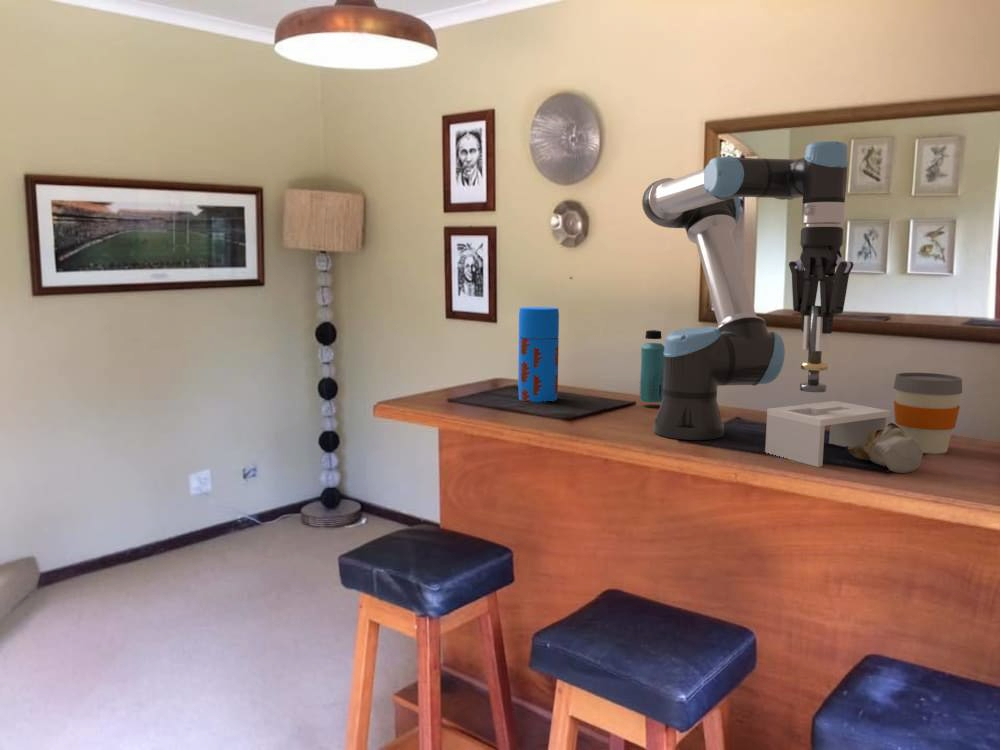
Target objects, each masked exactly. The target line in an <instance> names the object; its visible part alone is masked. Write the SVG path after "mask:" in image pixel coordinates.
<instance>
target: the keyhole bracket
mask: <svg viewBox="0 0 1000 750" xmlns="http://www.w3.org/2000/svg"><path fill="white" fill-rule="evenodd" d="M890 423H891V410H889V409H883V408H877V407H871V406H867V405H866V406H865V405H862V404H861V405H860V404H855V403H849V402H844V401H837V400H831V401H823V402H822V401H820V402H815V403H814V402H813V403H805V404H803V403H802V404H798V405H788V406H786V405H785V406H781V407H780V406H779V407H771V408H770V407H769V408H767V409H766V432H765V446H764V447H765V449H764V453H765V452H766V453H765V454H768V453H769V455H772V454H773V455H772V456H775V455H776V456H775V457H779V456H780V458H783V457H784V458H783V459H786V458H787V460H790V461H794V462H799V463H801V464H806V465H809V466H813V467H817V468H820V467H823V464H824V463H823V461H824V460H823V459H824V446H825V445H824V444H825V430H826V426H829V435H828V436H829V437H828V438H829V439H828V444H831V445H836V446H840V447H844V448H845V446H849V447H856V446H859V445H862V446H865V443H866V442H867V439H868V437H869V435H870V433H871V432H872V431H874V430H875V429H878V428H886V427H887V426H888V424H890Z"/></svg>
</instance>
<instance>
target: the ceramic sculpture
mask: <svg viewBox="0 0 1000 750" xmlns="http://www.w3.org/2000/svg"><path fill="white" fill-rule="evenodd" d="M844 448H845V450H846V451H847V452H848V453H849V454H850V455H851V456H853V457H855V458H857V459H860V460H864V461H865V460H870V461H871V462H873V463H874V464H876V465H878V464H879V465H878V466H881V465H882V466H881V467H885V466H887V467H886V468H887V469H888V470H889V471H891V472H894V473H898V474H908V473H911V472H914V471H915V470H917V469H918V467H920V465H921V463H922V459H923V454H924V453H923V451H922V449H921V446H920V444H919V442H918V441H917V440H916V439H915V438H914V437H909V438H907V436H906V435H905V433H904V431H903V429H902V428H900V427H899V426H898V424H896V423H895V422H890V424H888V426H887V427H886V428H878V429H875V430H874V431H872V432H871V433H870V435H869V437H868V439H867V442H866V443H865V446H862V445H859V446H856V447H849V446H845V447H844Z"/></svg>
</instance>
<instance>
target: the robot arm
mask: <svg viewBox="0 0 1000 750" xmlns="http://www.w3.org/2000/svg"><path fill="white" fill-rule="evenodd" d="M848 167H849V161H848V146H847V144H846V143H844V142H843V141H838V140H837V141H836V140H834V141H832V140H831V141H829V140H828V141H827V140H826V141H816V142H812V143H811V142H810V143H809V144H807V146H806V147H805V152H804V155H803V158H802V157H801V158H791V159H788V158H787V159H786V158H755V157H735V156H731V155H730V156H722V157H721V156H719V157H718V156H717V157H713V158H711V159H710V160H709V161H708V163H707V164H706V166H705V168H702V169H700V170H698V171H694V172H692V173H689V174H686V175H683V176H679V177H678V178H677V177H676V178H672V177H666V178H665V177H664V178H662V179H659V180H656V181H653V182H652V183H651V184H649V185H648V186H647V188H646V189H645V191H644V193H643V195H642V200H641V205H642V210H643V212H644V214H645V216H646V217H647V218H648V220H649V221H651V222H652V223H654V224H655V225H656V226H657V225H658V226H659V227H663V228H669V229H672V228H673V229H685V233H686V236H687V239H688V240H689V241H690V242H691V243H694V244H696V248H697V252H698V256H699V258H700V263H701V267H702V271H703V273H704V277H705V280H706V285H707V289H708V293H709V295H710V296H709V297H710V300H711V303H712V307H713V311H714V315H715V318H716V322H717V325H718V326H717V327H714V326H701V327H697V326H696V327H687V328H682V329H681V328H680V329H676V330H674V331H671V332H669V333H668V334H667V335H666V337H665V341H664V347H665V348H664V382H663V399H662V402H660V406H659V409H658V413H657V416H656V418H655V420H654V421H653V423H654V424H653V433H655V434H656V435H658V436H660V437H661V436H662V437H665V438H669V439H670V438H671V439H677V440H688V441H689V440H691V441H703V440H705V441H706V440H714V439H719V438H721V437H722V438H723V436H724V430H725V429H724V428H725V427H724V422H723V421H722V416H721V412H720V408H719V404H718V386H721V387H722V386H723V387H724V386H758V385H765V384H770V383H772V382H773V381H775V380H777V378H778V377H779V375H780V373H781V371H782V369H783V366H784V362H785V357H786V356H785V354H786V352H785V351H786V350H785V349H786V348H785V343H784V341H783V337H782V336H781V335H780V334H778V332H777V333H776V332H774V331H769V330H768V327H767V323H766V321H765V319H764V318H763V317H760V316H758V315H756V311H755V308H754V304H753V301H752V297H751V294H750V290H749V286H748V284H747V280H746V277H745V274H744V271H743V265H742V263H741V260H740V257H739V253H738V250H737V249H738V248H737V246H736V243H735V242H736V241H735V239H734V236H733V231H735V229H736V226H737V223H738V221H739V219H740V216H741V209H740V207H741V199H740V198H769V199H772V198H773V199H776V200H782V201H784V200H786V201H787V200H788V201H791V200H793V199H800V198H802V206H801V207H802V211H801V212H802V213H801V224H802V225H803V226H804V227H802V228H801V229H800V242H799V243H800V244H799V245H800V247H802V251H801V254H800V256H799V258H798V259H796V260H794V261H789V263H788V267H789V270H790V272H791V287H792V288H791V289H792V291H791V293H792V309H793V311H794V312H797V313H799V314H800V315H801V324H800V325H801V326H800V327H801V328H800V330H801V332H803V336H802V337H803V338H802V350H808V351H809V333H810V314H811V306H816V301H817V293H818V287H819V291H820V292H819V293H820V294H819V296H820V299H819V300H820V306H821V314H818V315H819V316H820V317H817V332H816V350H815V351H822V352H824V351H829V347H830V346H829V345H830V344H829V342H830V334H832V333H833V326H834V325H833V323H834V317H835V316H836V315H840V314H843V313H844V308H845V302H846V297H847V289H848V283H849V277H850V273H851V271H852V269H853V267H854V262H853V261H847V260H845V258H843V257H842V253H841V247H842V246H843V243H844V242H843V240H844V229H843V227H841V225H844V223H845V213H846V192H847V191H846V190H847V178H848Z"/></svg>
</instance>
